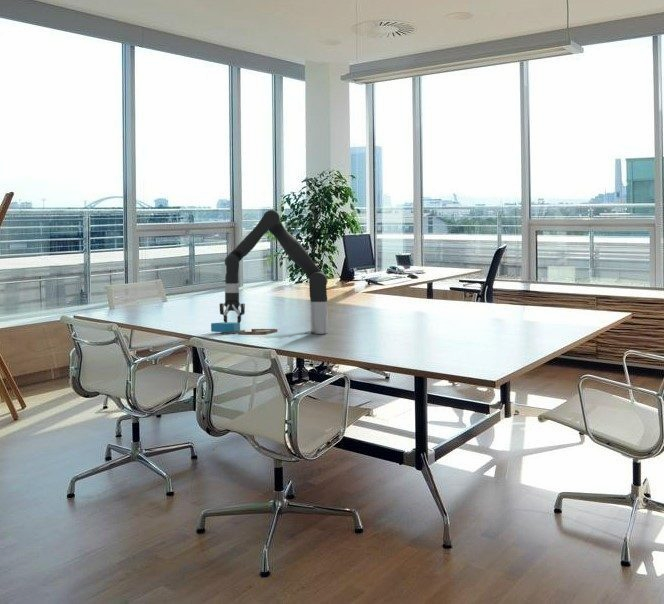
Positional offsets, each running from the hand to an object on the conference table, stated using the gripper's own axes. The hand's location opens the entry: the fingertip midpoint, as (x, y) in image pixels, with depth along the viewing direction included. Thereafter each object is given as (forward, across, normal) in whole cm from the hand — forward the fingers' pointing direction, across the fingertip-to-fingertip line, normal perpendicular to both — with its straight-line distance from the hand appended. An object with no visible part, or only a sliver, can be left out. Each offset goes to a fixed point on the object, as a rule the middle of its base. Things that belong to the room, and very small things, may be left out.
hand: (232, 322), depth 395 cm
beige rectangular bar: (+6, -17, -5) cm, 19 cm away
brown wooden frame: (+5, -14, 0) cm, 15 cm away
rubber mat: (+6, 0, 0) cm, 6 cm away
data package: (+2, +9, -1) cm, 9 cm away
